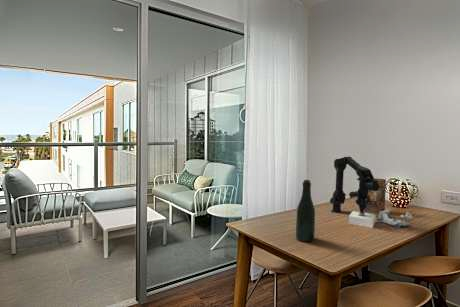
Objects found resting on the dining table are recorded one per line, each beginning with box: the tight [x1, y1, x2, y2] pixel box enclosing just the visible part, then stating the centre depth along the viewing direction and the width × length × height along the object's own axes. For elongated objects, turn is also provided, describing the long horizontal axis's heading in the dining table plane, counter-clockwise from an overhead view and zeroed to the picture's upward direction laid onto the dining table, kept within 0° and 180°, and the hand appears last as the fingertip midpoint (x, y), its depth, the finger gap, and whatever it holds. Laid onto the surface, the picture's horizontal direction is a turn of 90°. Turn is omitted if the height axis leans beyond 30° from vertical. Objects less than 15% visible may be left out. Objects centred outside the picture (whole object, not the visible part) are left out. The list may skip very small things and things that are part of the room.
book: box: [365, 178, 387, 214], centre depth 211 cm, size 16×6×25 cm, turn 58°
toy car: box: [375, 209, 413, 229], centre depth 183 cm, size 18×10×12 cm
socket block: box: [348, 210, 376, 229], centre depth 185 cm, size 14×14×5 cm
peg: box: [358, 207, 366, 217], centre depth 185 cm, size 3×3×10 cm
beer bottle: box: [294, 179, 316, 243], centre depth 155 cm, size 10×10×33 cm
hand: (362, 211), depth 184 cm, fingers open, 9 cm apart
